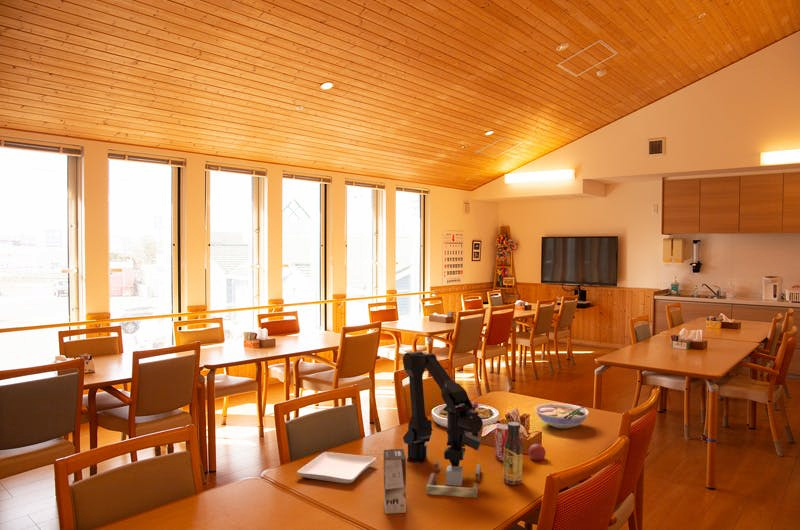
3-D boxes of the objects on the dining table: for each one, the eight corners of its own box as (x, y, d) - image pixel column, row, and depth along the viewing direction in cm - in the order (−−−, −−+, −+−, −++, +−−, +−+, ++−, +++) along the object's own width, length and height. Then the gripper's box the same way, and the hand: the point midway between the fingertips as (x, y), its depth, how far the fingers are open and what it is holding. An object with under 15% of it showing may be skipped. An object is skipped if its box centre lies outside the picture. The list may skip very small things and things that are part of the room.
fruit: (527, 462, 214) (520, 446, 211) (536, 452, 217) (529, 436, 214) (541, 467, 209) (534, 451, 206) (549, 456, 212) (542, 440, 210)
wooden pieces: (426, 493, 182) (426, 486, 182) (435, 468, 204) (435, 461, 204) (476, 497, 179) (476, 489, 179) (480, 471, 201) (480, 464, 201)
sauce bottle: (499, 480, 192) (499, 421, 192) (515, 477, 195) (515, 419, 194) (510, 487, 186) (510, 426, 186) (526, 484, 189) (526, 424, 188)
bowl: (504, 432, 244) (504, 414, 244) (433, 432, 245) (433, 414, 244) (493, 413, 274) (493, 396, 274) (430, 413, 275) (430, 396, 274)
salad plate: (295, 480, 194) (295, 470, 194) (324, 459, 214) (324, 450, 214) (352, 489, 187) (352, 479, 186) (377, 466, 206) (377, 457, 206)
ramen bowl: (547, 415, 268) (547, 398, 268) (596, 424, 255) (596, 405, 255) (525, 429, 248) (525, 410, 248) (577, 439, 235) (577, 419, 234)
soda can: (514, 462, 209) (514, 429, 208) (494, 461, 210) (494, 428, 210) (514, 455, 216) (514, 424, 215) (495, 454, 217) (495, 423, 217)
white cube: (446, 484, 189) (446, 471, 189) (447, 478, 194) (447, 465, 194) (461, 485, 188) (461, 472, 188) (462, 479, 193) (462, 466, 193)
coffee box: (406, 513, 168) (406, 459, 168) (384, 514, 168) (384, 459, 168) (403, 499, 178) (403, 448, 177) (383, 500, 177) (382, 449, 177)
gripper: (478, 435, 184) (478, 484, 184) (481, 419, 202) (481, 463, 203) (443, 434, 186) (444, 481, 186) (449, 417, 204) (449, 461, 205)
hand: (456, 471), depth 195 cm, fingers closed
